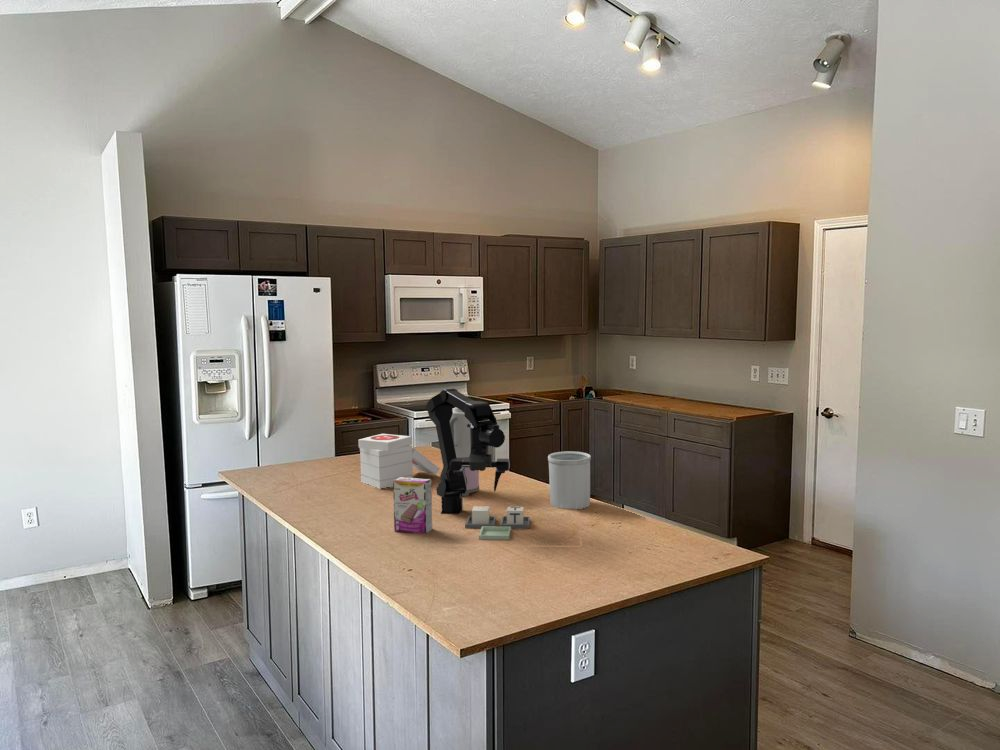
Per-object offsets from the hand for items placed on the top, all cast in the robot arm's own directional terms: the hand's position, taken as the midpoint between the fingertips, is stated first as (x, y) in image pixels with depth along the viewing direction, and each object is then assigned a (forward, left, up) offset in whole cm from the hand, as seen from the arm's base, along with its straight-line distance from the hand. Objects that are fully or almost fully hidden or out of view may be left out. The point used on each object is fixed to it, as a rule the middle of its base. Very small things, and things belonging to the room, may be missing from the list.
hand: (480, 491), depth 236 cm
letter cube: (+11, 0, -11) cm, 15 cm away
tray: (+5, -11, -11) cm, 16 cm away
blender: (-12, +40, -11) cm, 43 cm away
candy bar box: (-21, -6, -11) cm, 24 cm away
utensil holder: (+28, +25, -11) cm, 39 cm away
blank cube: (0, 0, -11) cm, 11 cm away
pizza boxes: (-40, +60, -11) cm, 72 cm away
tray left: (0, 0, -11) cm, 11 cm away
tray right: (+11, 0, -11) cm, 16 cm away
